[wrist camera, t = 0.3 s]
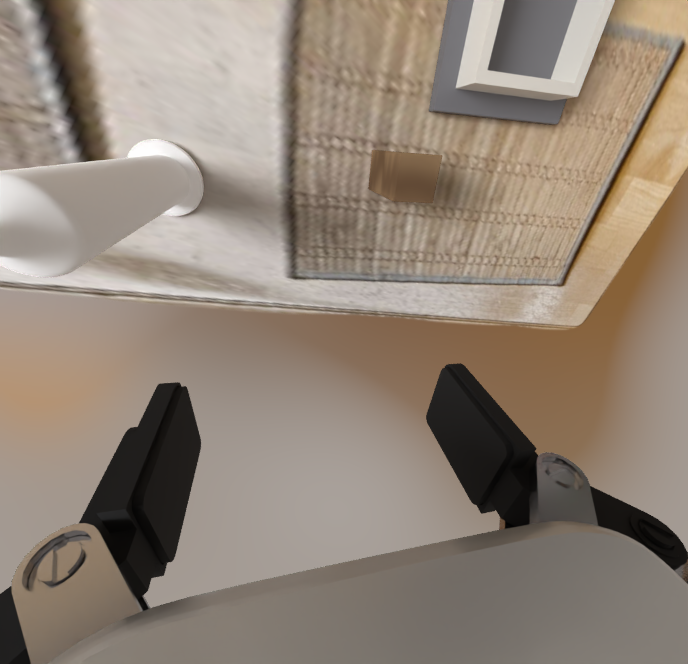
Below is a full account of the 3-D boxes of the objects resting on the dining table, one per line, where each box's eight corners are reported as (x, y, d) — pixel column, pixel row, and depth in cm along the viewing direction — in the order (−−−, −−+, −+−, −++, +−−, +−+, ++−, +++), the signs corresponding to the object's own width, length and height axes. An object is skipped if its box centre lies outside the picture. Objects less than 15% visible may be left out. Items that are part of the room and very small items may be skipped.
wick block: (372, 150, 33) (401, 152, 26) (405, 152, 34) (442, 155, 26) (368, 189, 35) (393, 201, 28) (399, 190, 36) (432, 203, 29)
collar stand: (471, -135, 24) (511, -190, 20) (626, -88, 27) (685, -127, 23) (428, 111, 32) (450, 107, 28) (549, 124, 35) (583, 122, 32)
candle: (218, 187, 32) (122, 268, 11) (173, 228, 33) (12, 367, 13) (160, 122, 28) (-142, 65, 8) (111, 170, 29) (-264, 235, 9)
